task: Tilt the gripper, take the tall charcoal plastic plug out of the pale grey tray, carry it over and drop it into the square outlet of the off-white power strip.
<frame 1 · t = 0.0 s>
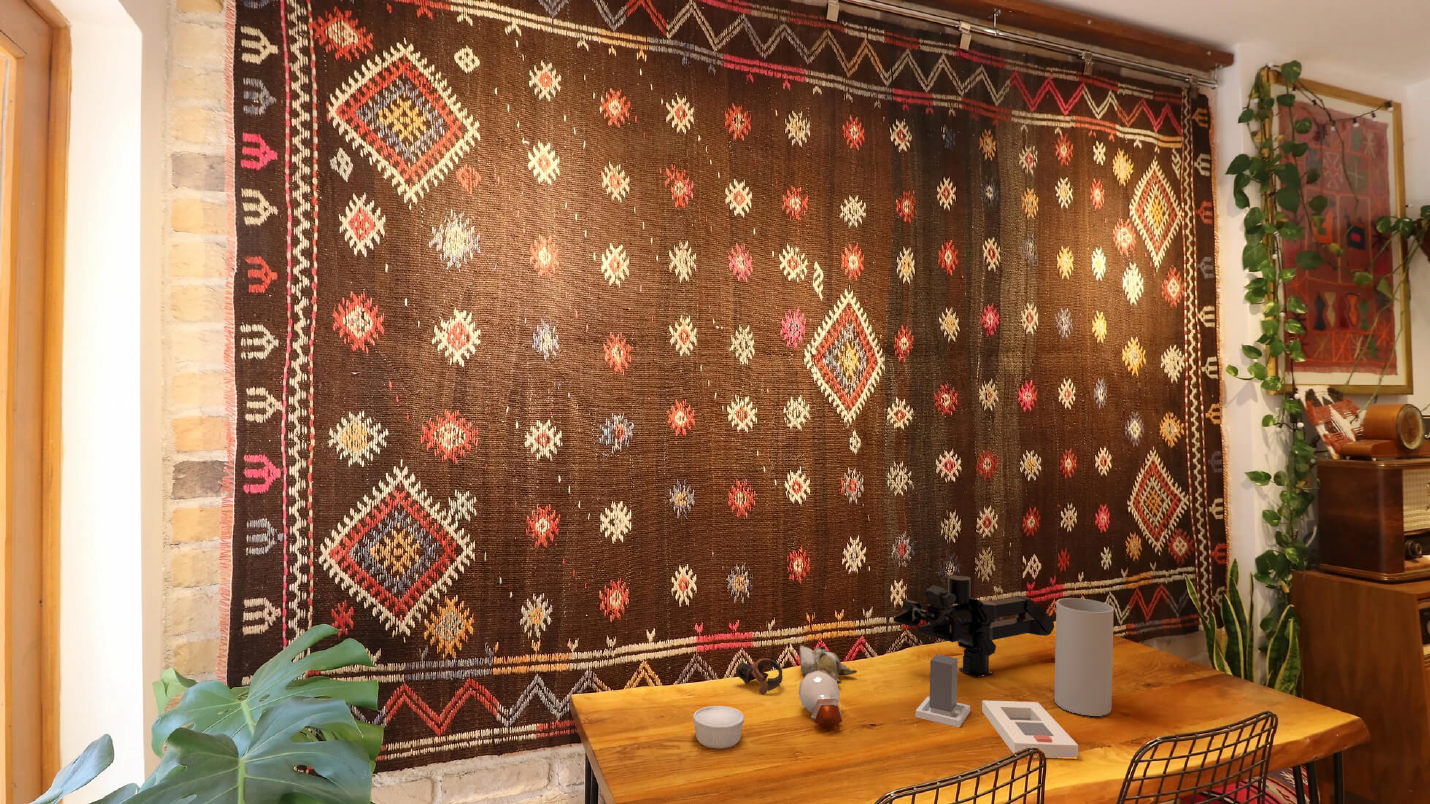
hand: (906, 624, 194), 17 cm above the table, fingers open, 9 cm apart
ramekin: (718, 740, 164), on the table
potion bottle: (822, 718, 176), on the table
ceramic sculpture: (823, 679, 200), on the table
plug: (943, 714, 177), resting on tray
cylinder vase: (1082, 707, 184), on the table
power strip: (1026, 734, 168), on the table
brown curved piece: (758, 688, 193), on the table
tray: (942, 716, 177), on the table
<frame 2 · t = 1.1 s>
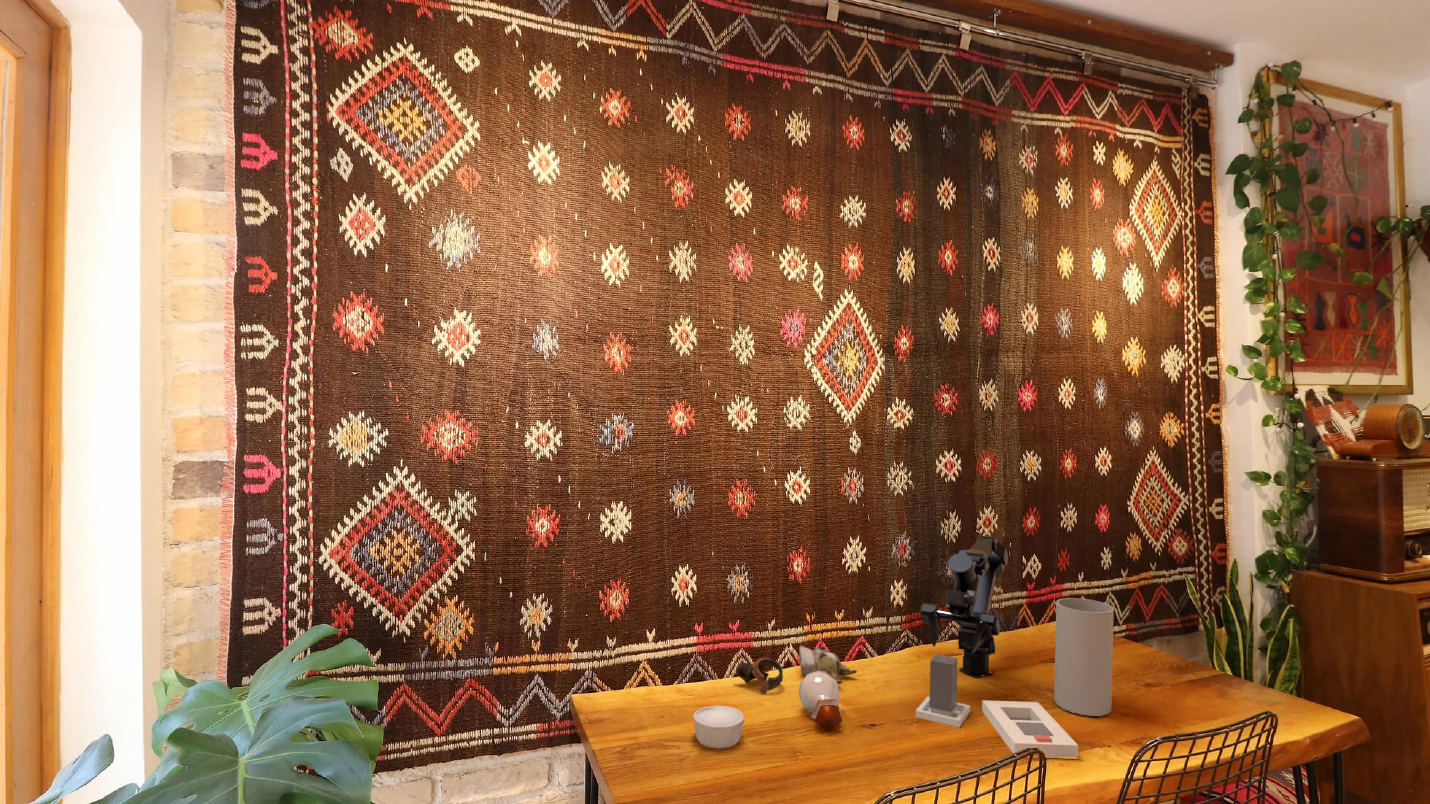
hand: (952, 649, 184), 14 cm above the table, fingers open, 9 cm apart
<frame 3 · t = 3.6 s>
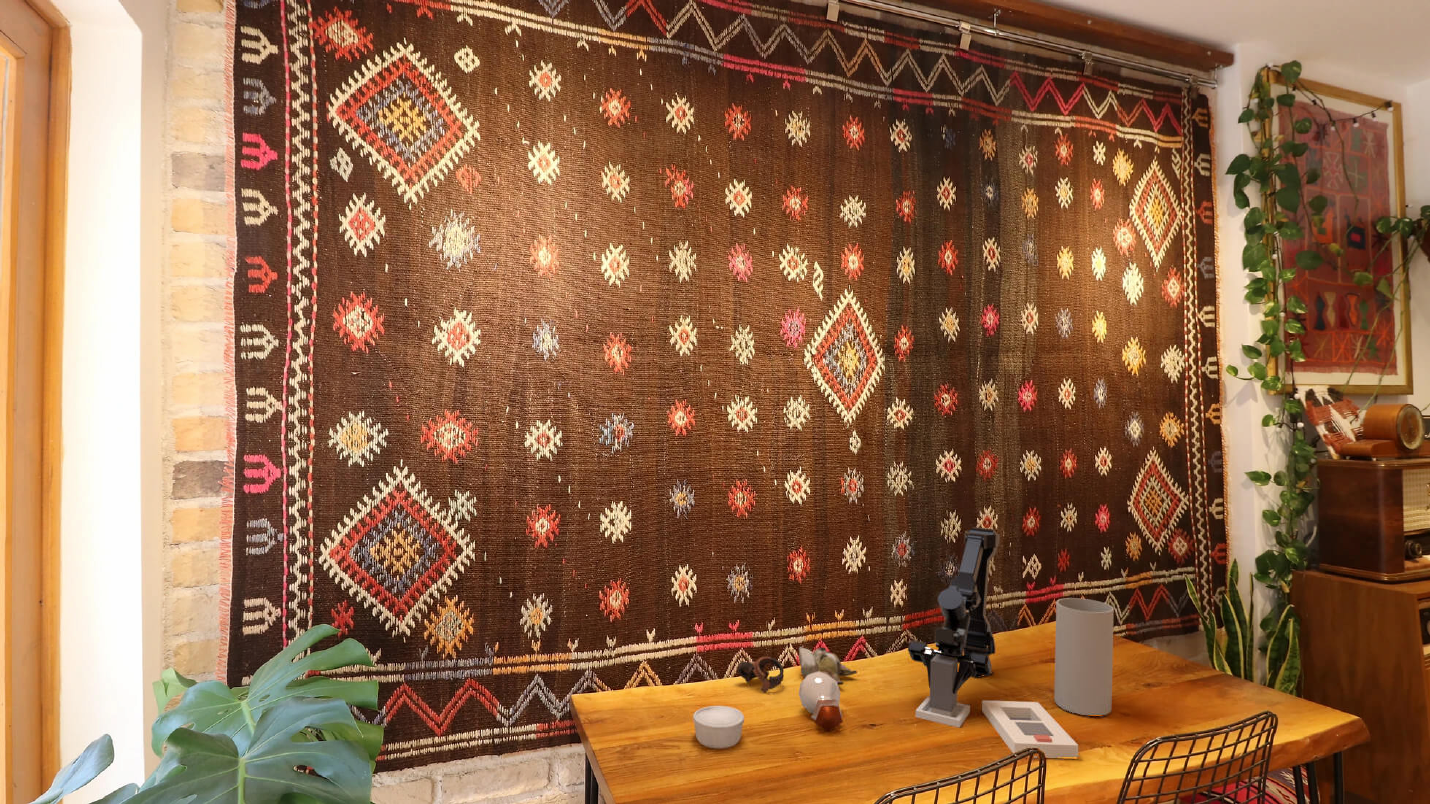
hand: (941, 690, 176), 7 cm above the table, fingers closed on plug, 5 cm apart
plug: (943, 714, 177), point 1 cm above the table, touching gripper, tray
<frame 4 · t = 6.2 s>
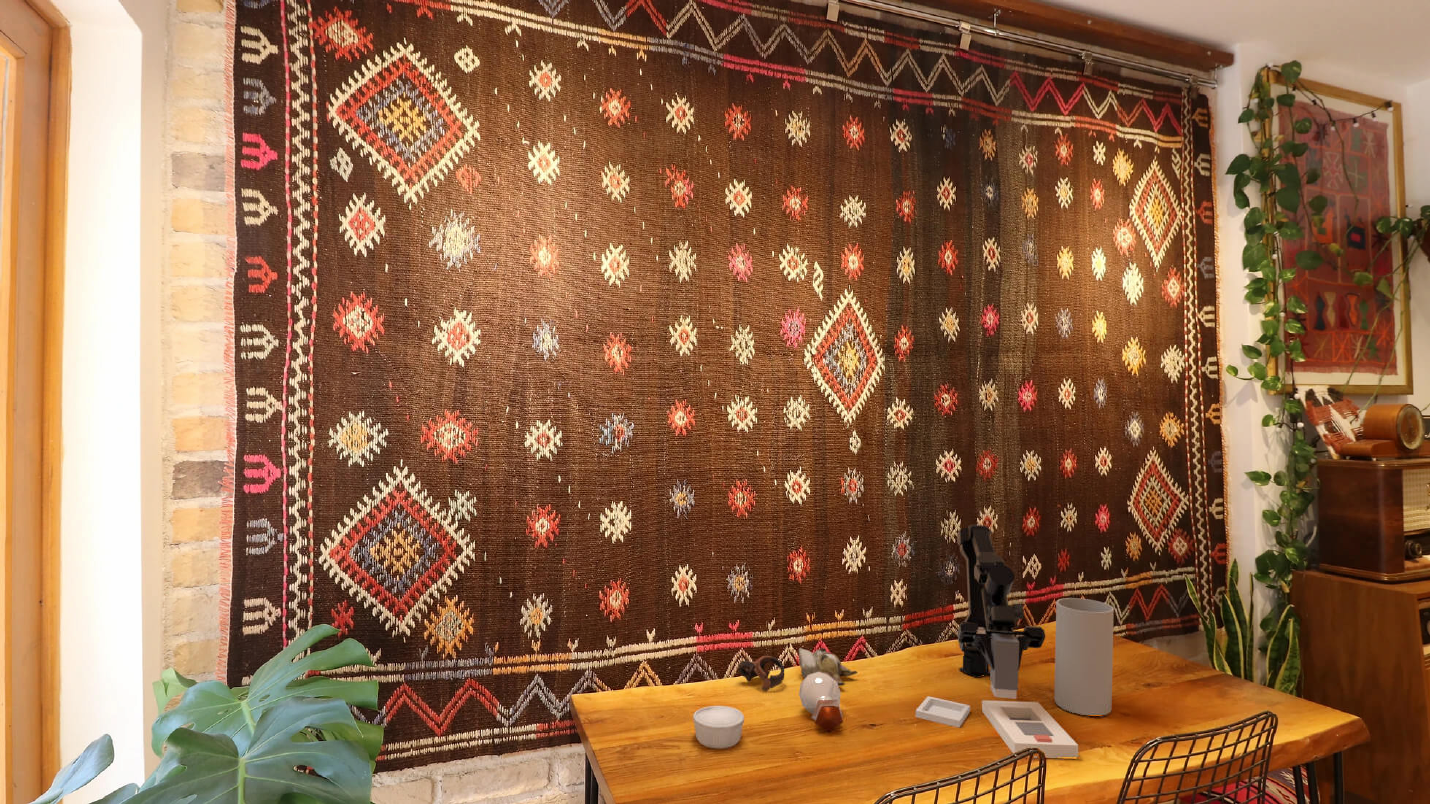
hand: (1005, 669, 171), 13 cm above the table, fingers closed on plug, 5 cm apart
plug: (1003, 693, 173), point 7 cm above the table, touching gripper
when the fingers open (7 cm above the table, at t = 8.4 s): plug stays where it is, resting on power strip.
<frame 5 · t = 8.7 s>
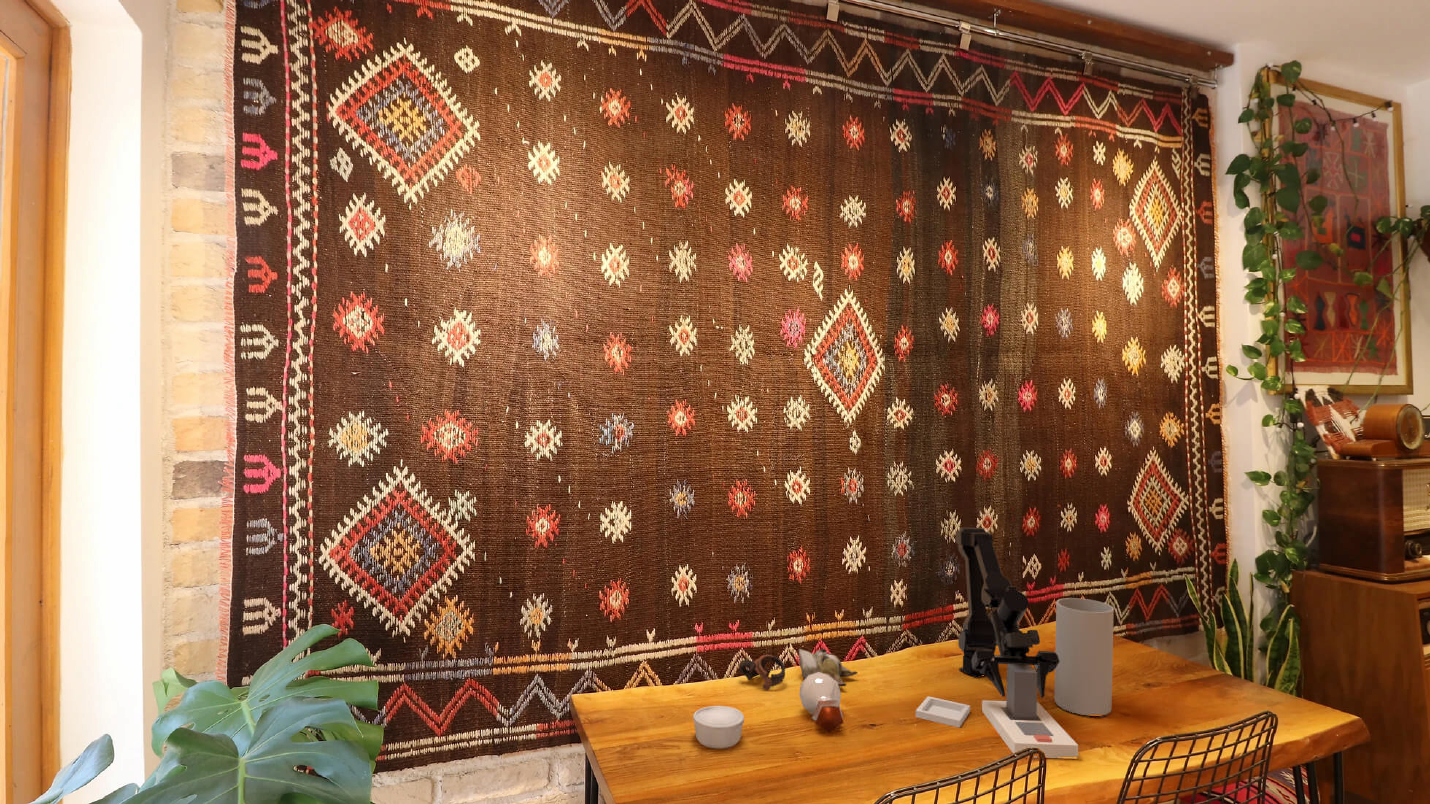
hand: (1023, 696, 171), 8 cm above the table, fingers open, 8 cm apart
plug: (1020, 724, 172), point 1 cm above the table, touching power strip
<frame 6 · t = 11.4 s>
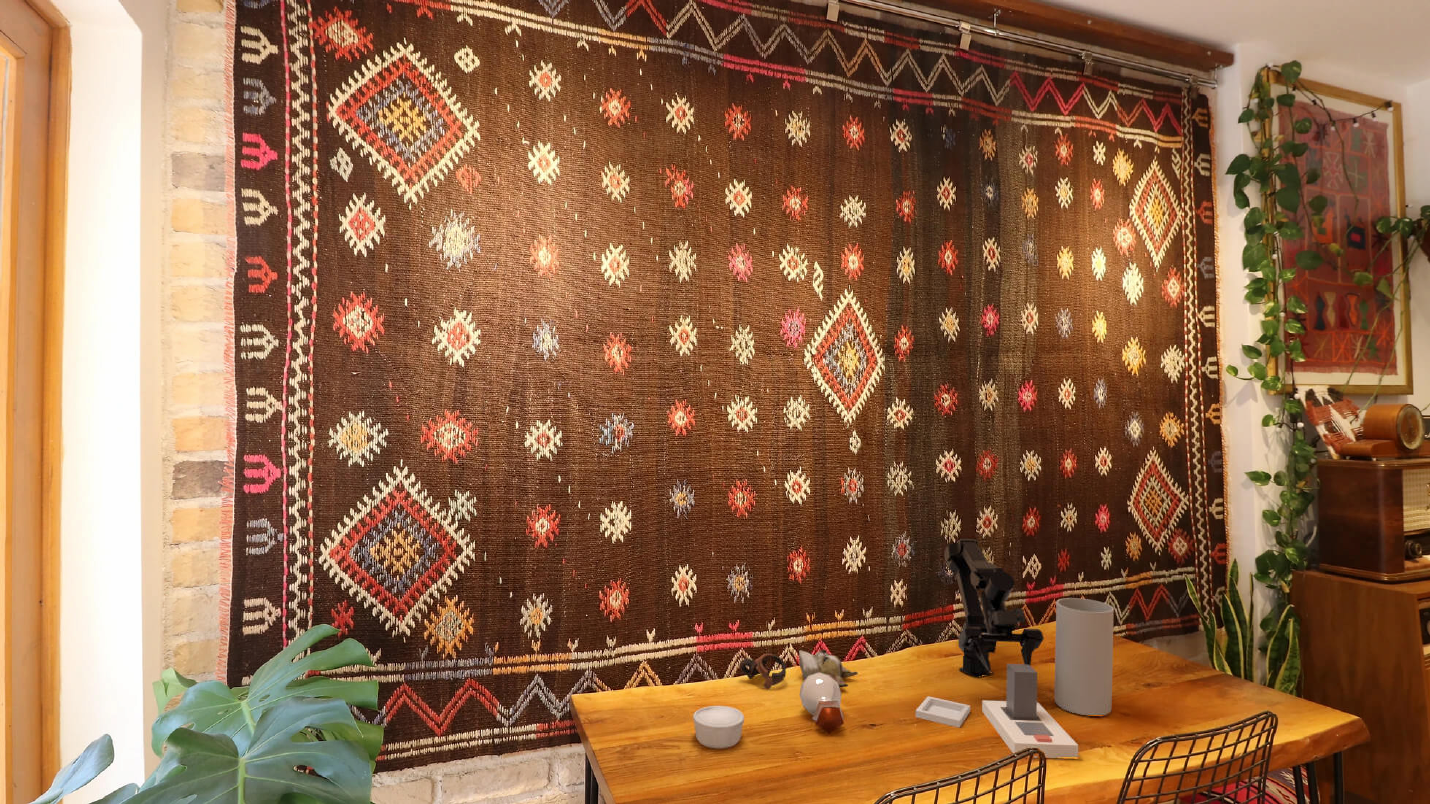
hand: (1009, 671, 180), 10 cm above the table, fingers open, 9 cm apart
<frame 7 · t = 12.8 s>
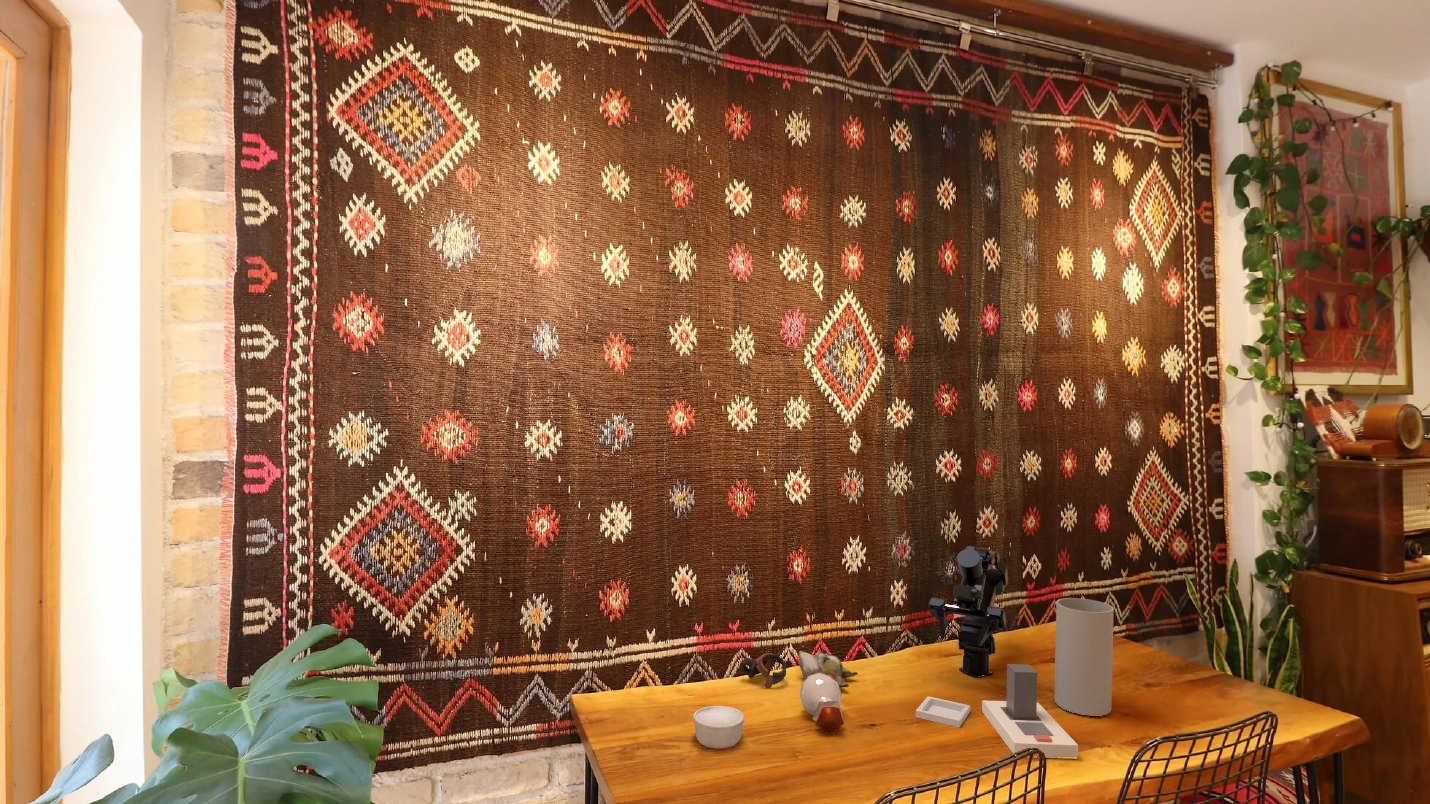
hand: (960, 642, 190), 14 cm above the table, fingers open, 9 cm apart
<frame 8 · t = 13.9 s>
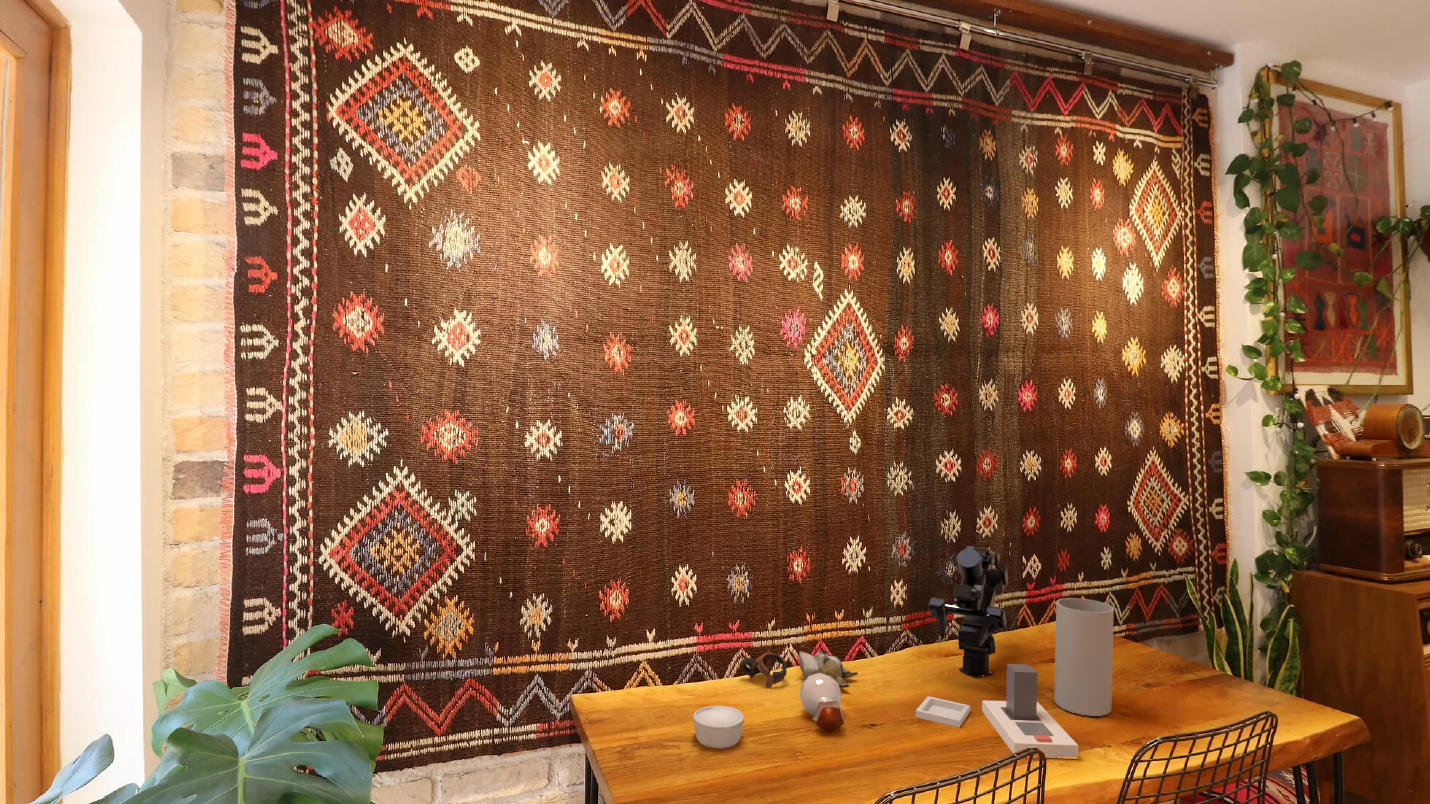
hand: (960, 641, 190), 14 cm above the table, fingers open, 9 cm apart
at the end: plug 0.1 cm from the target spot, point 0.5 cm above the table; plug tilted 0°; the gripper is holding nothing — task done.
